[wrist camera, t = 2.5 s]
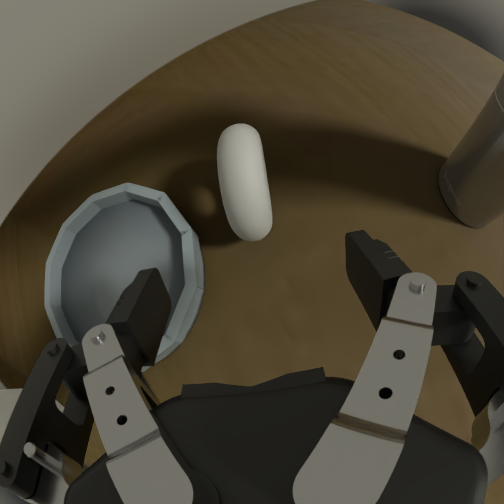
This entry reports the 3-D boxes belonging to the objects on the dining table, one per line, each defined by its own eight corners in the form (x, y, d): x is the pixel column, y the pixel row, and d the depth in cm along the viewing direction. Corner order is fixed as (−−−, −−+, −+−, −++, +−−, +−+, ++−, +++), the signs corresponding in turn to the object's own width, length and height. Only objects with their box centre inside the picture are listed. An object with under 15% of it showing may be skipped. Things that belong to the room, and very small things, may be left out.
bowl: (197, 181, 29) (188, 165, 26) (217, 366, 23) (208, 370, 20) (67, 219, 30) (52, 210, 27) (67, 367, 24) (48, 368, 21)
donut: (233, 168, 29) (211, 102, 19) (265, 164, 28) (255, 95, 19) (240, 258, 26) (213, 213, 16) (277, 253, 25) (271, 205, 16)
